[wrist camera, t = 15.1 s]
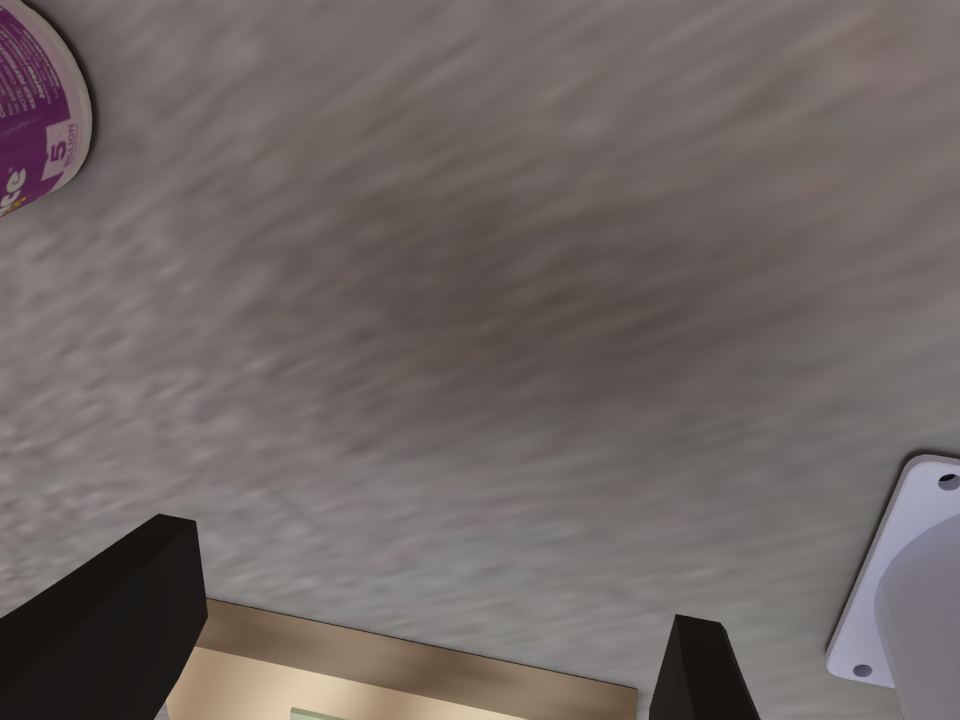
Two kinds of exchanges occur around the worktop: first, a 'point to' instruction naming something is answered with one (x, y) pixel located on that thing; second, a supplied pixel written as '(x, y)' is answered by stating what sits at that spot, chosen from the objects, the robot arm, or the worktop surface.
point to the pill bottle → (38, 108)
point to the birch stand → (366, 678)
